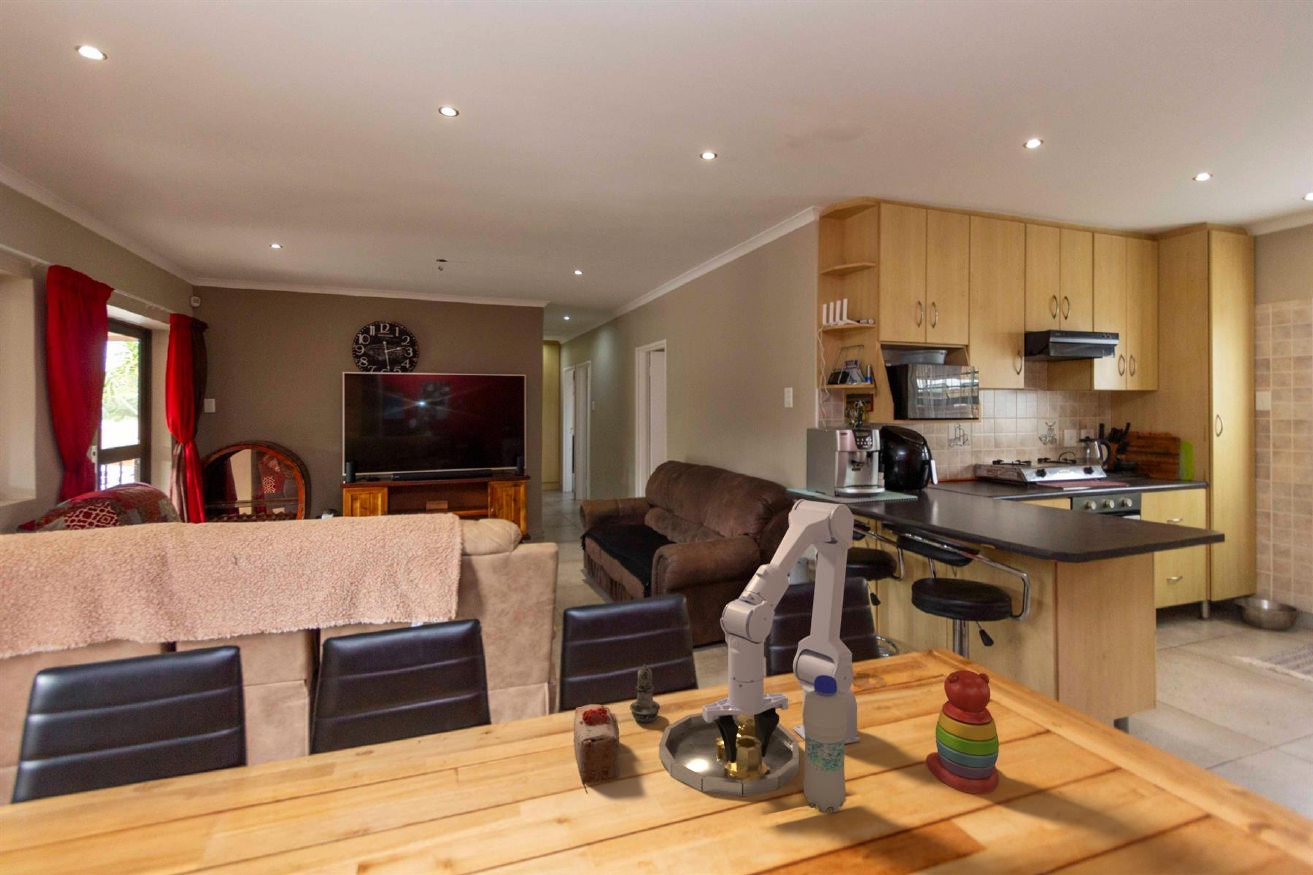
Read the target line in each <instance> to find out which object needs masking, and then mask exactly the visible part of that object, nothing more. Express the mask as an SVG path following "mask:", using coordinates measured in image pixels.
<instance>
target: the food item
mask: <svg viewBox="0 0 1313 875" xmlns="http://www.w3.org/2000/svg"><path fill="white" fill-rule="evenodd" d="M611 711H612V709H610V708H609V707H608V706H605V705H601V704H595V703H594V704H586V705H583V706H580V707H579V706H578V707H576V708H575V712H574V714H575V715H574V720H573V746H574V756H575V759H576V764H577V770H578V773H579V777H580V781H581V784H582V786H583V788H584V789H587V787H586V784H585V783H589V784H592V783H598V782H603V781H610V780H614V779H620V778H621V771H620V769H621V761H620V759H621V757H620V754H621V747H620V730H619V729H620V728H619V724H618V722H619V719H618V716H617V714H616V713H614V712H611Z"/></svg>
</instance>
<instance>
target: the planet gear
mask: <svg viewBox="0 0 1313 875" xmlns="http://www.w3.org/2000/svg"><path fill="white" fill-rule="evenodd" d="M769 774H770V767H767V766H766V765H765V764H764V760H762V743H761V742H760V741H759V739H758V738H756V737H752V736H747V735H744V736H738V737H737V739H736V762H735V763H731V762H730V761H729V760H728V763H727V765H724V775H726V776H727V777H728V778H729V779H736V780H744V779H749V778H754V777H759V776H764V775H769Z"/></svg>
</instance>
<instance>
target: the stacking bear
mask: <svg viewBox="0 0 1313 875" xmlns="http://www.w3.org/2000/svg"><path fill="white" fill-rule="evenodd" d="M989 683H990V677H989V675H988V674H986V673H984V672H981V673H979V674H978V673H977V672H974V671H971V670H966V669H964V670H956V671H953V672H950V673H949V674H948V676H947V677H946V678H945V680H944V683H943V688H944V692H945V695H946V697H947V701H946V702H944V703H943V705H942V709H941V710H940V712H939V715H938V720H937V722H936V727H935V744H936V748H937V751H934V752H933V751H932V752H930V753H928V755H927V756H926V758H925V764H926V766H927V768H928V769H929V770H930V772H931V773H932V775H934V776H935V778H937V779H938V780H940V781H941V782H943V783H944V784H946V785H947V786H949V787H950V788H953V789H955V790H958V791H960V792H965V793H969V794H976V795H977V794H981V795H982V794H987V793H991V792H993V791H995V789H997V787H998V785H999V772H998V768H997V767H996V763H997V761H998V758H999V753H1000V751H999V750H1000V749H999V747H1000V741H999V735H998V731H997V725H996V721H995V718H993V716H992V714H991V712H990V711H989V709H988V708H987V706H988V705H989V702H990V699H991V689H990V686H989Z"/></svg>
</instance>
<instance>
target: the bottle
mask: <svg viewBox="0 0 1313 875" xmlns="http://www.w3.org/2000/svg"><path fill="white" fill-rule="evenodd" d="M847 721H848V720H847V714H846V706H845V700H844V698H843V697H842V696H841V695H840V694H838V693H837V682H836V680H835V679H834V678H833V677H831V676H828V675H820V676H817V677H816V678H815V681H814V690H813V691H810V692H808V693H807V694H806V696H805V703H804V709H803V708H802V725H803V726H804V728H805V739H804V771H803V785H802V786H803V788H802V789H803V794H804V795H805V798H806V800H807V802H808V803H809V806H810V808H812V809H816V807H817V806H818V808H819V810H820V812H821V813H826V811H827V809H828V808H830V811H831V812H832V813H836V812H837V811H839V809H840V808H841V807H843V805H844V803H845V801H846V775H845V774H846V773H845V745H846V744H845V732H846V730H847V726H846V725H847Z"/></svg>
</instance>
